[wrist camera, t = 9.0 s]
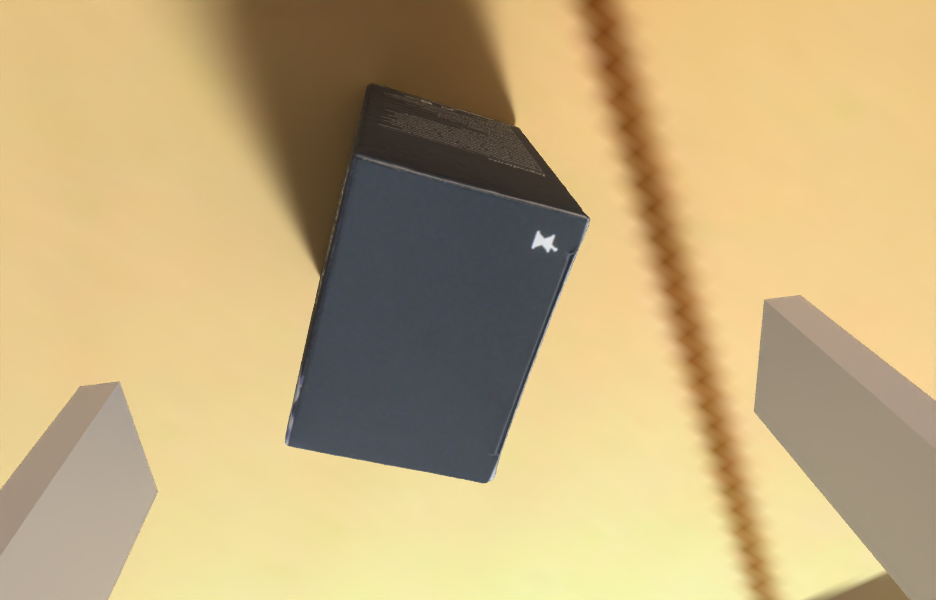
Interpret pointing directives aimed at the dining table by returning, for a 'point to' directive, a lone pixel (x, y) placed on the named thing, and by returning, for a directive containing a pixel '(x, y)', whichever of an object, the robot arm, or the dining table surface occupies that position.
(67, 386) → the dining table surface
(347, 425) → the box
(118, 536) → the robot arm
